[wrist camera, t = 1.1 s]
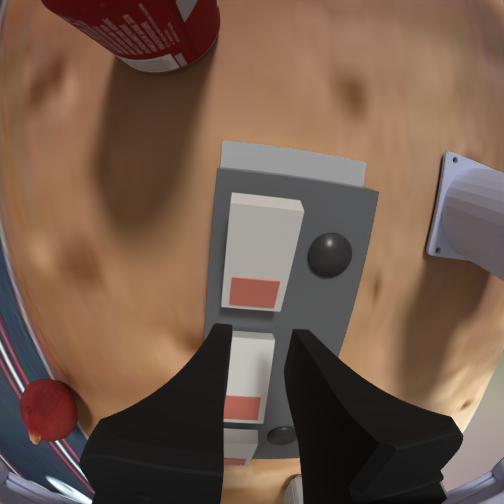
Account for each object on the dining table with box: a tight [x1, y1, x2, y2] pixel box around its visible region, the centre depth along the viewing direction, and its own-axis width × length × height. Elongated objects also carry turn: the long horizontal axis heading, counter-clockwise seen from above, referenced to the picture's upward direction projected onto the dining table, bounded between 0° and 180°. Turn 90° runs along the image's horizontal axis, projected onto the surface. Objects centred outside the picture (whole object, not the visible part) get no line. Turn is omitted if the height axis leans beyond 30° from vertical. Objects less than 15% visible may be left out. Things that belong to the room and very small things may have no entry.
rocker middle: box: [224, 331, 275, 424], centre depth 17 cm, size 3×6×1 cm, turn 173°
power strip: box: [204, 141, 379, 459], centre depth 20 cm, size 9×27×4 cm, turn 173°
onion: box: [20, 379, 78, 445], centre depth 19 cm, size 6×6×8 cm
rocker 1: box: [224, 428, 258, 465], centre depth 20 cm, size 3×6×1 cm, turn 173°
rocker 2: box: [221, 193, 304, 312], centre depth 15 cm, size 3×6×1 cm, turn 173°
